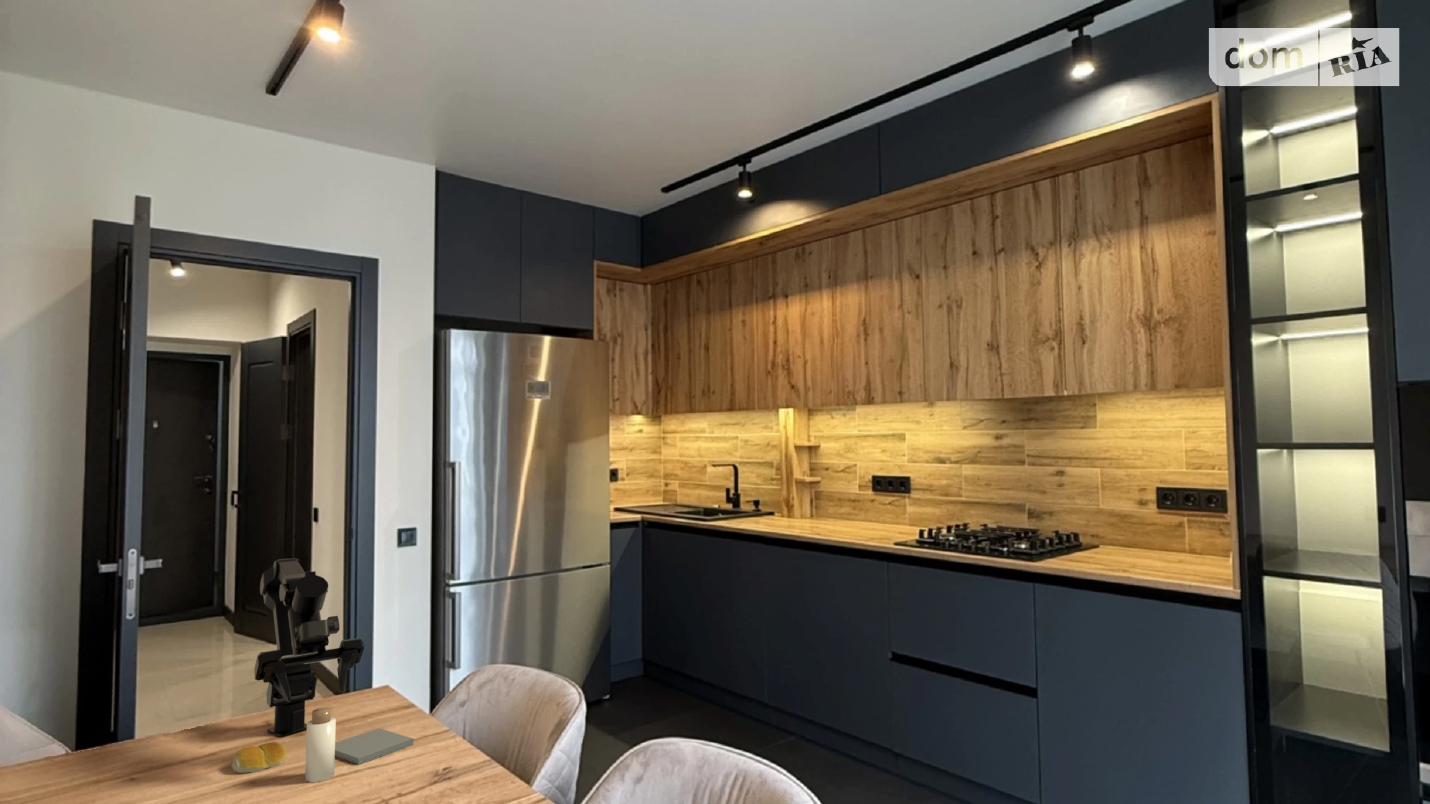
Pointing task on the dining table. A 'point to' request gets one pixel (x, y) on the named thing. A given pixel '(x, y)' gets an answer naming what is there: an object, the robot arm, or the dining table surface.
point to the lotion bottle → (320, 746)
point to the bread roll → (258, 757)
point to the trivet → (371, 745)
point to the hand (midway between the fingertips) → (316, 696)
